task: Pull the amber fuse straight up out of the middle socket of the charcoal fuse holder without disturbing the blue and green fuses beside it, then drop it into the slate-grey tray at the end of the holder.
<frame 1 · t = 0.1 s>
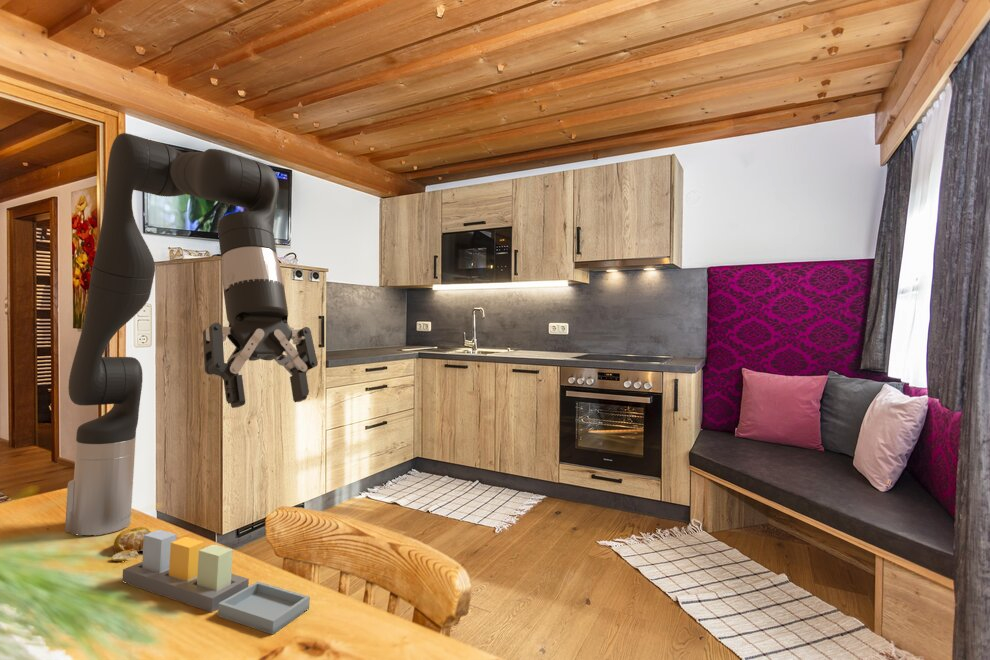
hand: (271, 403, 65), 31 cm above the table, tool tilted 20°, fingers open, 8 cm apart
green fuse: (213, 596, 76), resting in fuse holder
amber fuse: (184, 587, 78), resting in fuse holder
fuse holder: (184, 586, 78), on the table
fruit: (133, 555, 89), on the table
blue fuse: (157, 578, 80), resting in fuse holder
tray: (264, 612, 73), on the table
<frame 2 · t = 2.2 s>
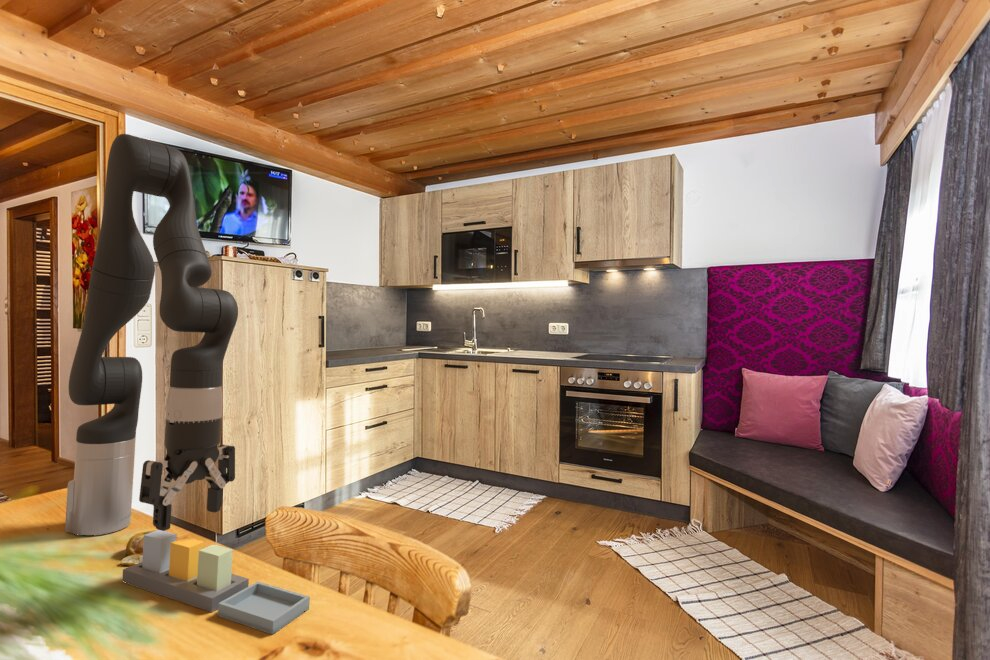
hand: (189, 519, 78), 10 cm above the table, tool pointing down, fingers open, 8 cm apart
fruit: (144, 559, 88), on the table
everything else where it was.
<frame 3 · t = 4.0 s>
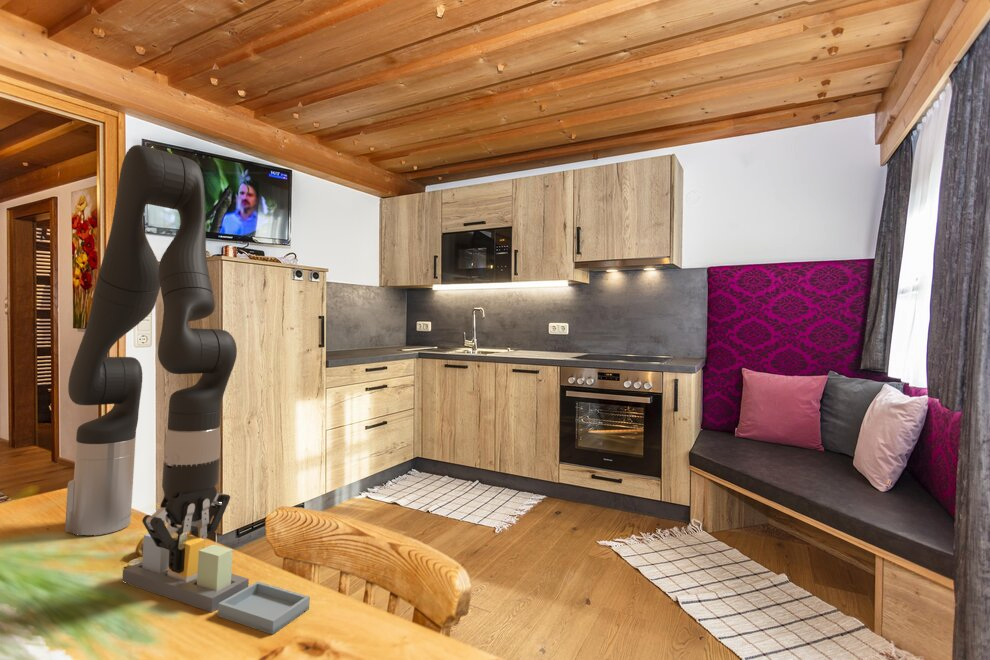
hand: (185, 567, 78), 3 cm above the table, tool pointing down, fingers closed on amber fuse, 2 cm apart
amber fuse: (183, 583, 78), resting in fuse holder, touching gripper
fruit: (153, 561, 87), on the table
everything else where it was.
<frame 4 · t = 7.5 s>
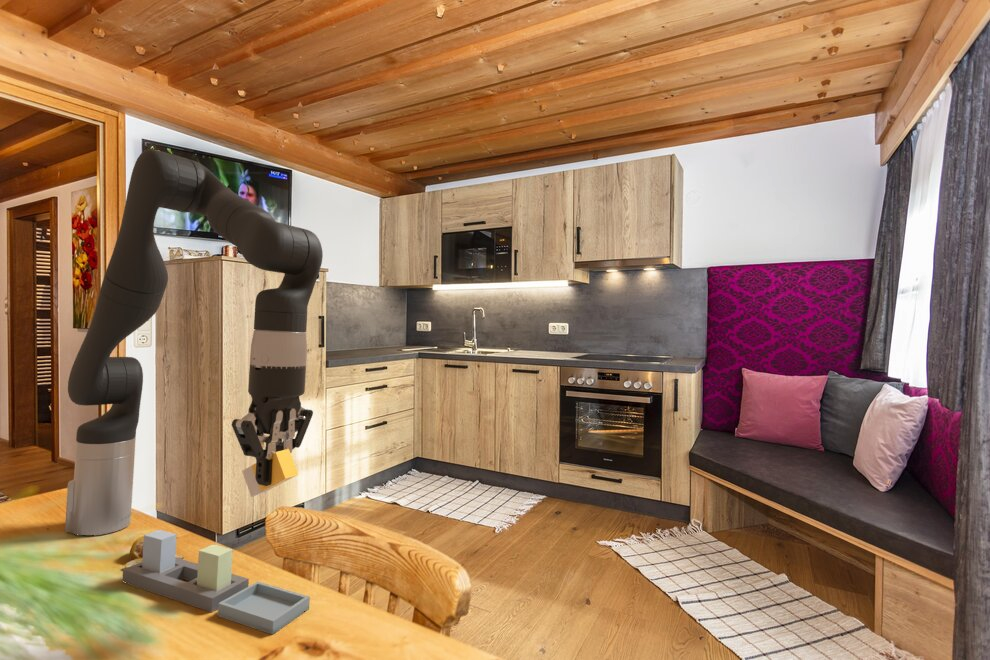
hand: (271, 481, 73), 19 cm above the table, tool pointing down, fingers closed on amber fuse
amber fuse: (253, 481, 74), point 18 cm above the table, tilted 59°, touching gripper
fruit: (149, 563, 86), on the table, touching fuse holder
everything else where it was.
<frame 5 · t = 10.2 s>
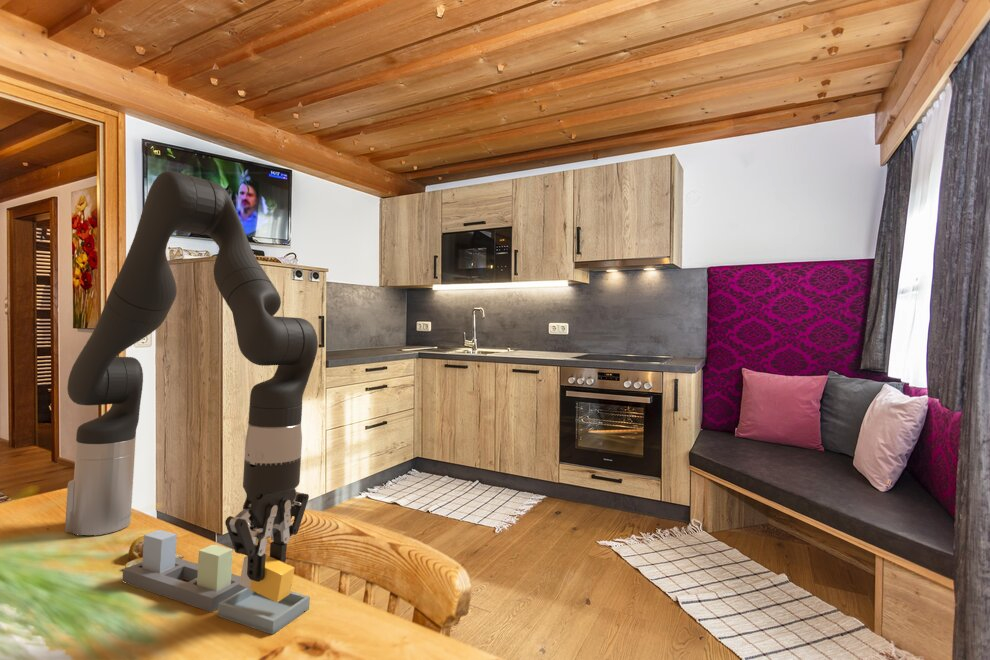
hand: (266, 573, 73), 6 cm above the table, tool pointing down, fingers open, 3 cm apart
amber fuse: (248, 567, 74), point 6 cm above the table, tilted 98°
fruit: (148, 562, 86), on the table
everything else where it was.
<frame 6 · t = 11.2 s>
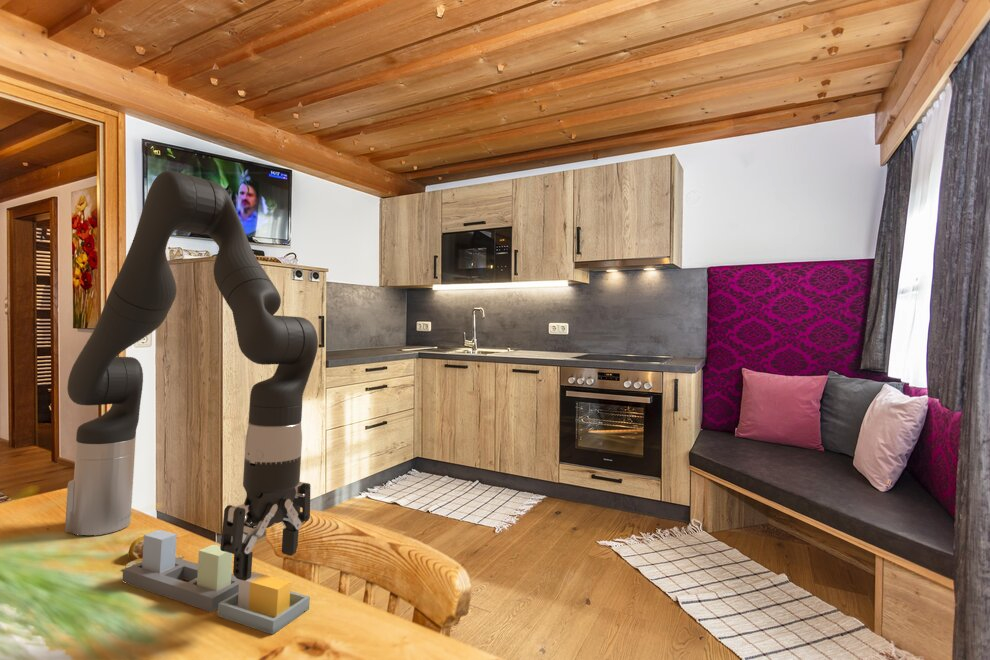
hand: (266, 565, 73), 7 cm above the table, tool pointing down, fingers open, 8 cm apart
amber fuse: (245, 588, 74), point 2 cm above the table, tilted 90°, touching tray
everything else where it was.
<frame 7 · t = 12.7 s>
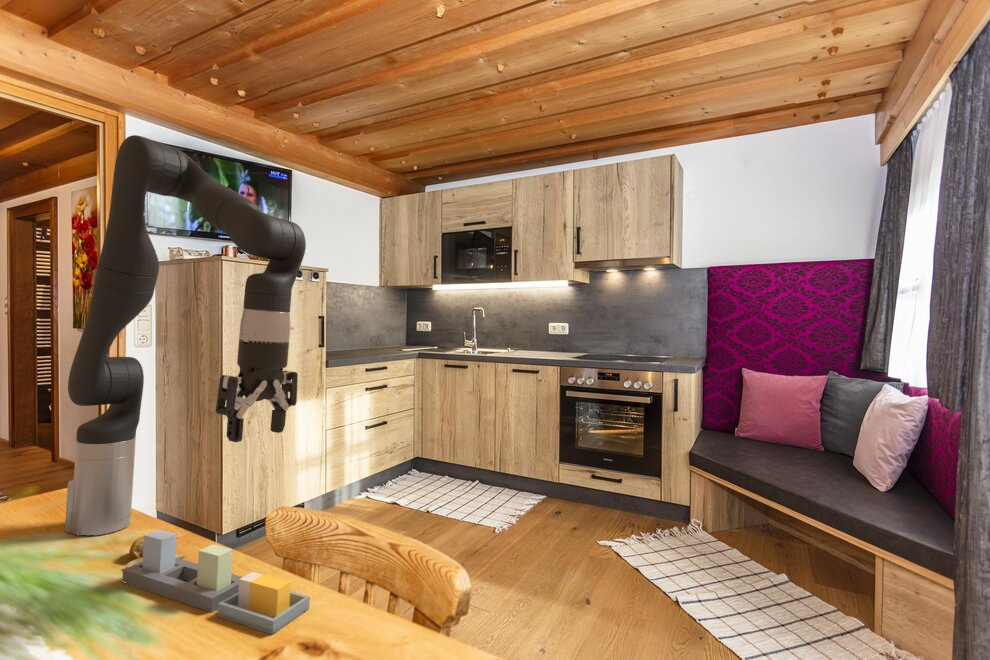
hand: (256, 436, 83), 23 cm above the table, tool pointing down, fingers open, 8 cm apart
nothing on the table moved.
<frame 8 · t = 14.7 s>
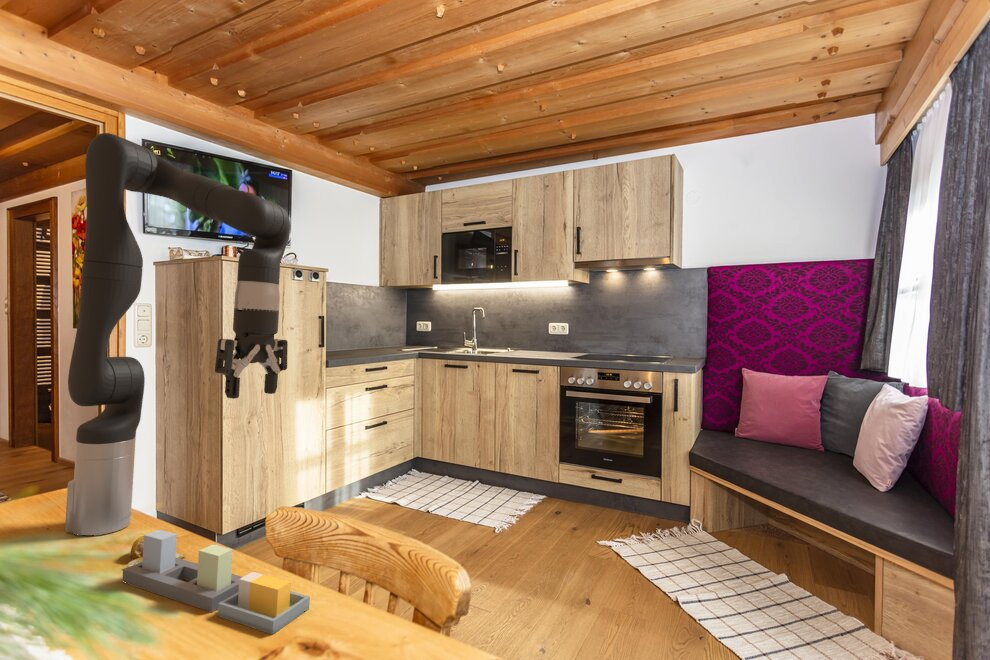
hand: (251, 395, 93), 28 cm above the table, tool pointing down, fingers open, 8 cm apart
nothing on the table moved.
at the end: amber fuse inside the target area on the tray (3.8 cm from its centre), point 2.5 cm above the tray's base; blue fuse moved 0.0 cm from its start; green fuse moved 0.0 cm from its start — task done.
